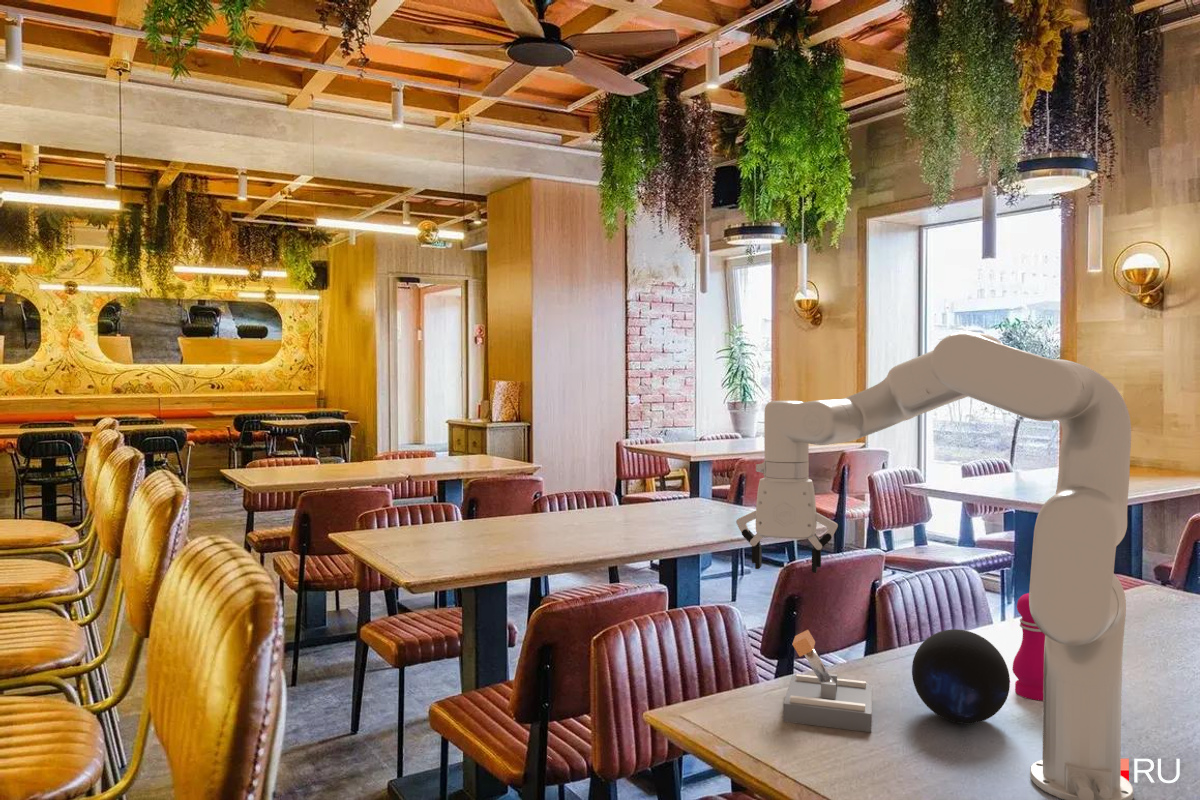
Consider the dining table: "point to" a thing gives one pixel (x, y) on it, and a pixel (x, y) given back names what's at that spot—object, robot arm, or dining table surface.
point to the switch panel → (829, 703)
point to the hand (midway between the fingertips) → (786, 569)
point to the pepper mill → (1029, 655)
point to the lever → (811, 655)
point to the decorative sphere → (960, 676)
